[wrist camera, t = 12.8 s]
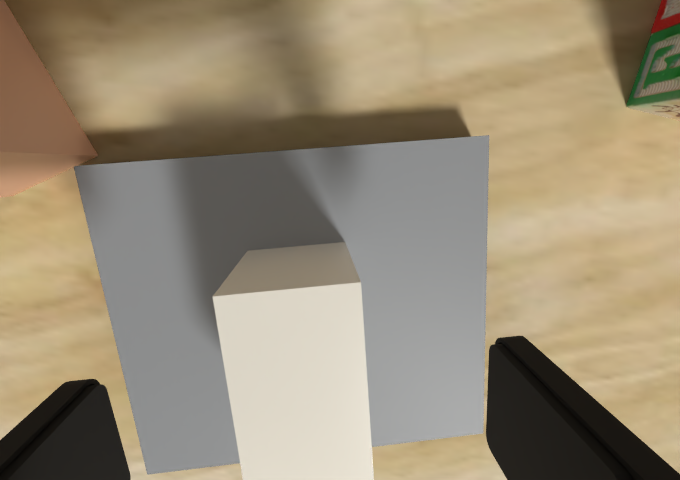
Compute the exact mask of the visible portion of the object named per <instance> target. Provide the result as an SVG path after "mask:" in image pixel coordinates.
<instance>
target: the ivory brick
mask: <svg viewBox="0 0 680 480" xmlns="http://www.w3.org/2000/svg"><path fill="white" fill-rule="evenodd" d="M212 297H213V303H214V309H215V315H216V321H217V327H218V333H219V339H220V345H221V351H222V357H223V363H224V369H225V375H226V381H227V387H228V393H229V399H230V405H231V411H232V417H233V423H234V429H235V435H236V441H237V447H238V453H239V459H240V465H241V471H242V477H243V480H374V474H373V458H372V443H371V428H370V412H369V397H368V381H367V366H366V350H365V335H364V320H363V304H362V289H361V281H360V278H359V276H358V273H357V271H356V268H355V266H354V263H353V261H352V258H351V256H350V253H349V250H348V248H347V245H346V243H345V242H338V243H327V244H316V245H305V246H294V247H283V248H272V249H260V250H249V251H247V252H246V253H245V255H244V256H243V257H242V259H241V260H240V261H239V263H238V264H237V265H236V266H235V268H234V269H233V270H232V272H231V273H230V274H229V276H228V277H227V278H226V279H225V281H224V282H223V283H222V285H221V286H220V287H219V289H218V290H217V291H216V293H215V294H214V295H213V296H212Z"/></svg>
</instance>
